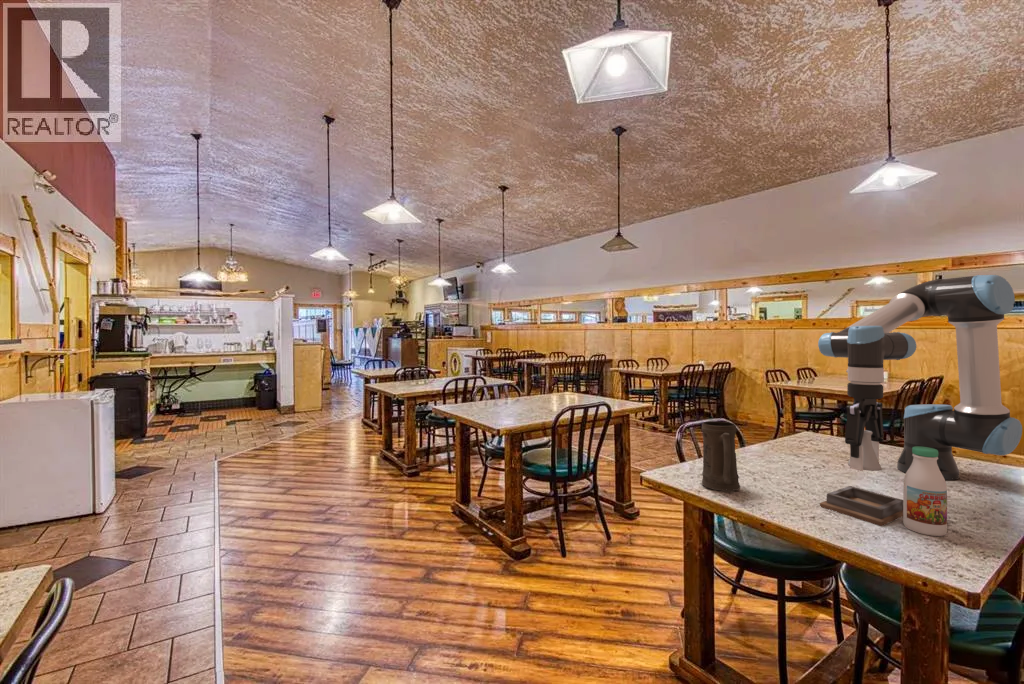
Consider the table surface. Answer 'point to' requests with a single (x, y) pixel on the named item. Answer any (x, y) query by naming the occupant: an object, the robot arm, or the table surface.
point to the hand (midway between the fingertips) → (864, 466)
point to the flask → (869, 454)
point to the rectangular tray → (864, 505)
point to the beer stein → (719, 456)
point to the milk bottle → (925, 494)
